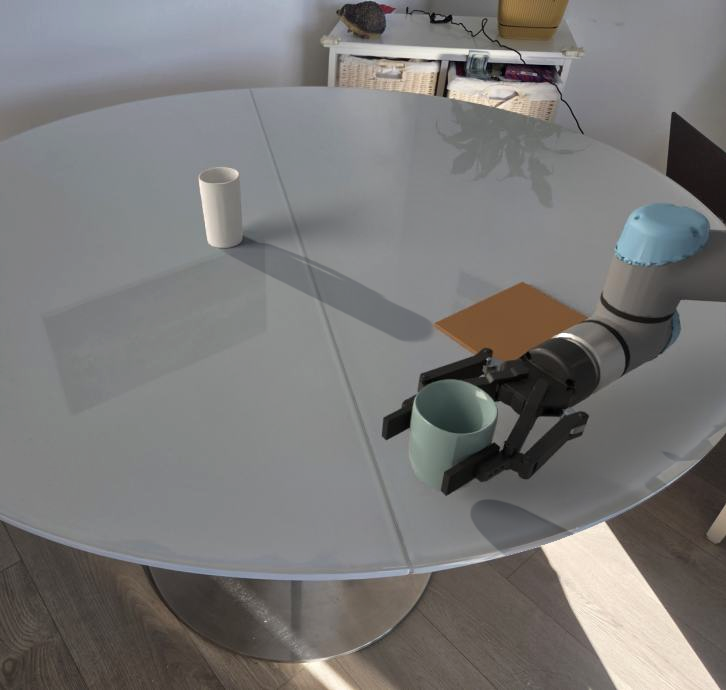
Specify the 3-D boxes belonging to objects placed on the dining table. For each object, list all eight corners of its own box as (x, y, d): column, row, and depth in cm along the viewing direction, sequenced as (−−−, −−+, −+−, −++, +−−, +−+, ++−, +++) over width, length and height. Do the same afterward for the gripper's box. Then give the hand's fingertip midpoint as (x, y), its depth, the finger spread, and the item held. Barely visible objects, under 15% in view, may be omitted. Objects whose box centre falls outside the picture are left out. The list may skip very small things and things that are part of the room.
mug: (244, 248, 110) (239, 182, 102) (205, 250, 110) (197, 185, 102) (244, 220, 117) (239, 158, 110) (208, 222, 117) (200, 160, 110)
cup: (496, 480, 66) (515, 411, 60) (443, 516, 63) (458, 448, 57) (441, 436, 72) (453, 368, 65) (389, 468, 68) (397, 400, 62)
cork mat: (629, 344, 85) (631, 341, 84) (537, 398, 78) (539, 394, 77) (521, 284, 97) (522, 281, 97) (433, 326, 90) (434, 322, 90)
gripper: (644, 447, 66) (488, 555, 57) (491, 346, 80) (346, 420, 71) (669, 394, 61) (504, 503, 52) (502, 297, 75) (349, 369, 66)
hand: (413, 455), depth 62 cm, fingers closed on cup, 8 cm apart
